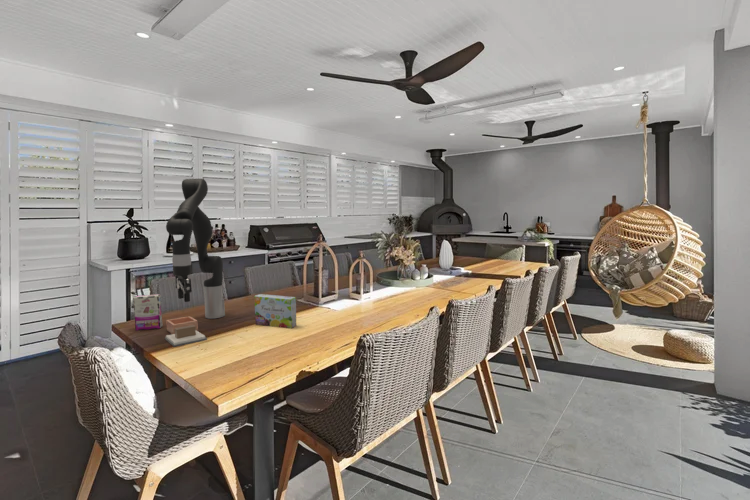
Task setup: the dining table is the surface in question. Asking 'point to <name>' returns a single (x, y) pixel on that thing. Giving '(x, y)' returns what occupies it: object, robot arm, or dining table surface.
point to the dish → (180, 323)
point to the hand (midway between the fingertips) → (184, 300)
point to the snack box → (275, 310)
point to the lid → (185, 335)
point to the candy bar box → (147, 312)
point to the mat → (184, 343)
